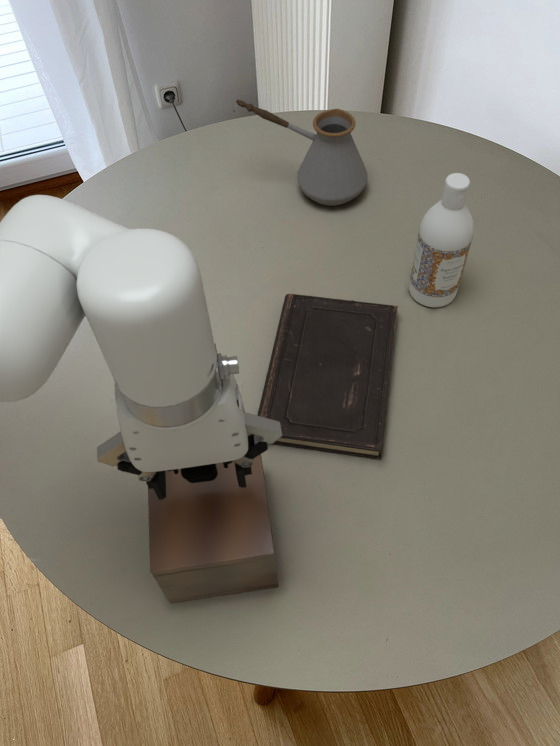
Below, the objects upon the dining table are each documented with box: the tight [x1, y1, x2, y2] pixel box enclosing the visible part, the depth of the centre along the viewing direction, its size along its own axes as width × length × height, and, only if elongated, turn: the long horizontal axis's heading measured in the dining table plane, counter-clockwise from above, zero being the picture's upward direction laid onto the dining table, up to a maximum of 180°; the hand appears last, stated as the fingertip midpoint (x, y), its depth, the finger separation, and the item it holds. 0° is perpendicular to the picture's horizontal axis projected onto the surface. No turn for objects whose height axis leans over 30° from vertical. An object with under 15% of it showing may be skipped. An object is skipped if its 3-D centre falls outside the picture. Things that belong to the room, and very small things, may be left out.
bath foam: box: [408, 172, 474, 308], centre depth 87 cm, size 7×7×20 cm
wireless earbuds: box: [166, 461, 233, 483], centre depth 62 cm, size 7×2×5 cm, turn 97°
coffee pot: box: [232, 99, 369, 207], centre depth 103 cm, size 21×12×15 cm, turn 77°
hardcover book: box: [257, 293, 399, 460], centre depth 86 cm, size 16×23×2 cm
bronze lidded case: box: [147, 433, 279, 604], centre depth 71 cm, size 12×14×11 cm
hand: (201, 479), depth 63 cm, fingers closed on wireless earbuds, 7 cm apart
